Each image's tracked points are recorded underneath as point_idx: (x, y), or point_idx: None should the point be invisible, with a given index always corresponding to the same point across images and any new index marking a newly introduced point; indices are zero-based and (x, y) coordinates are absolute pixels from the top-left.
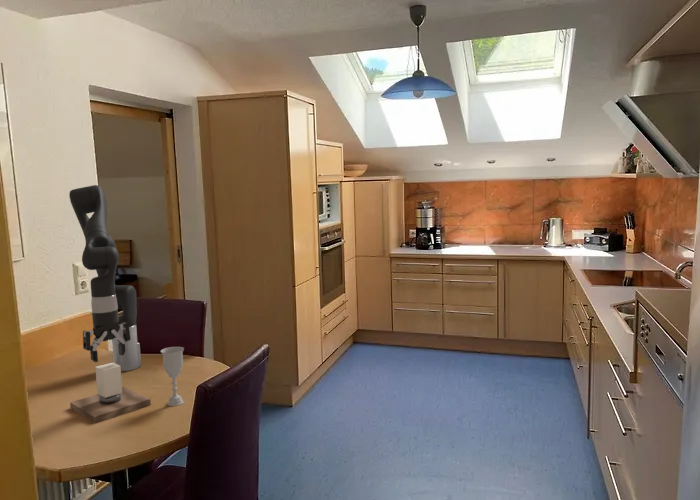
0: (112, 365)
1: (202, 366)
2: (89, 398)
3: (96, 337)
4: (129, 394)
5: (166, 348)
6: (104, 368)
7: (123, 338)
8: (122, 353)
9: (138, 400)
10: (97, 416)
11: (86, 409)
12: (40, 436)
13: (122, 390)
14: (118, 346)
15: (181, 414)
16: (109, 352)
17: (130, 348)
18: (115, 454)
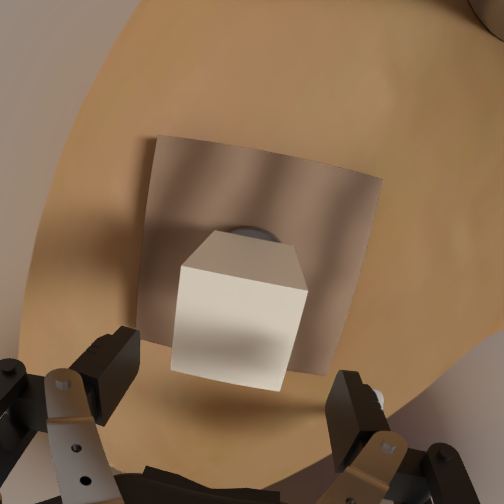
0: (260, 345)
1: None
2: (220, 165)
3: (74, 479)
4: (329, 278)
5: None
6: (194, 350)
7: (396, 487)
8: (329, 417)
9: (299, 355)
10: (145, 339)
11: (149, 261)
12: (33, 266)
13: (348, 212)
14: (352, 412)
15: (304, 459)
16: None
17: None
18: (110, 458)
